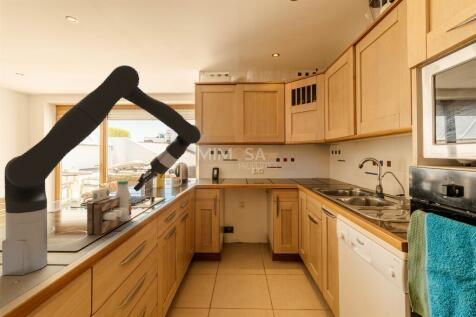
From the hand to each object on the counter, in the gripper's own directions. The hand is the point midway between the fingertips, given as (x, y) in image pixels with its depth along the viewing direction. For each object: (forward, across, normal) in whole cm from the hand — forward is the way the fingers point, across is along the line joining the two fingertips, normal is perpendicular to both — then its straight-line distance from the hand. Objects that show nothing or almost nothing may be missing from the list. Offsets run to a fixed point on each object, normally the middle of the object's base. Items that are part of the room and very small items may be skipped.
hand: (135, 189), depth 103 cm
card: (+16, -5, -9) cm, 19 cm away
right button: (+17, -10, +1) cm, 20 cm away
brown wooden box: (+25, -5, +2) cm, 25 cm away
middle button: (+17, -5, +1) cm, 18 cm away
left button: (+17, 0, +1) cm, 17 cm away
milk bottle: (+24, -19, +2) cm, 31 cm away
